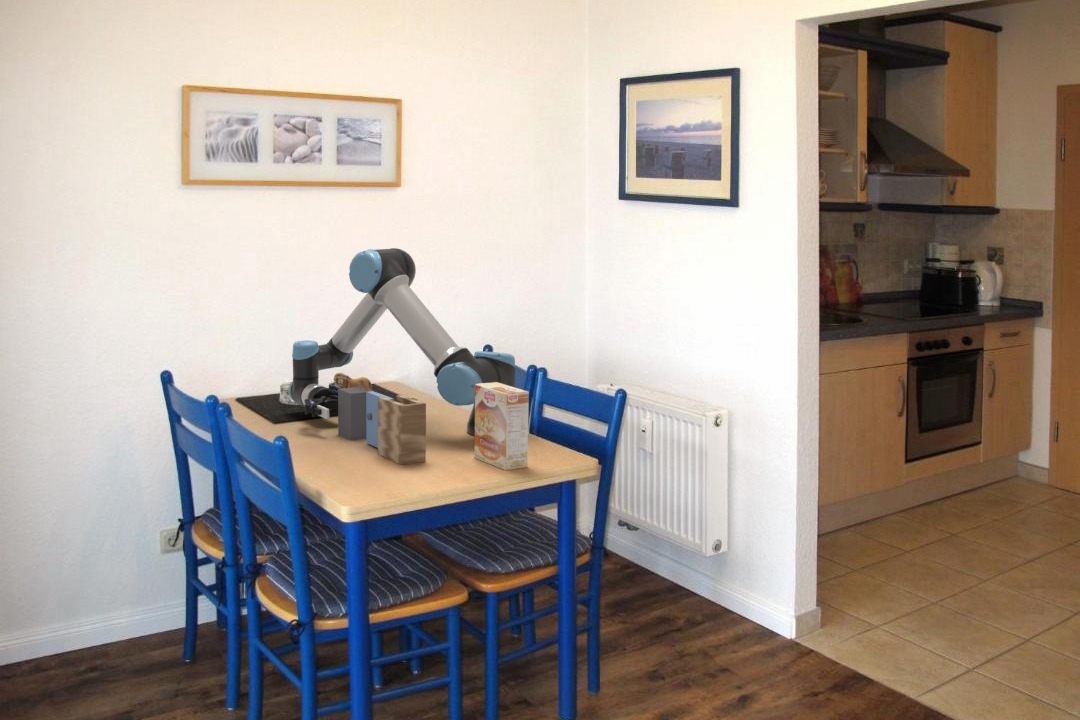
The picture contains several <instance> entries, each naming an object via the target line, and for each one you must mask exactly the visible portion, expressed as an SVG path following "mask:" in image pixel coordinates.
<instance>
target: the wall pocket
mask: <svg viewBox="0 0 1080 720" xmlns="http://www.w3.org/2000/svg"><path fill="white" fill-rule="evenodd" d="M395 397H396V398H395V399H396V400H394V401H393V400H391V399H388V398H385V397H378V448H377V453H378V455H379V456H381V457H383V458H386V459H387V460H390V461H392V462H393V463H397V464H399V465H401V466H405V465H410V464H417V463H425V462H426V461H427V456H426V455H427V453H426V452H427V448H426V447H427V403H425V402H422V401H421V400H418V399H417V400H418V401H417V400H414V399H412V398H413V397H411V398H410V397H408V396H406V395H404V394H403V395H402V394H399V395H398V394H397V395H395Z"/></svg>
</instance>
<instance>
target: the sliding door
mask: <svg viewBox="0 0 1080 720" xmlns="http://www.w3.org/2000/svg"><path fill="white" fill-rule="evenodd" d="M378 397H385V398H388V399H391V400H393V401H395V398H392V397H390V396H387V395H385V394H382V393H380V392H377V391H374V390H373V391H370V392H366V442H365V443H366V444H369V445H370V446H373V447H374V448H377V449H378Z"/></svg>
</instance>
